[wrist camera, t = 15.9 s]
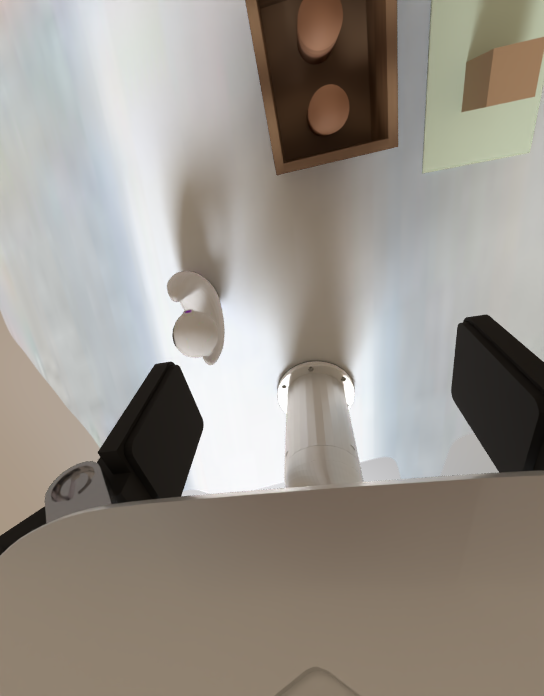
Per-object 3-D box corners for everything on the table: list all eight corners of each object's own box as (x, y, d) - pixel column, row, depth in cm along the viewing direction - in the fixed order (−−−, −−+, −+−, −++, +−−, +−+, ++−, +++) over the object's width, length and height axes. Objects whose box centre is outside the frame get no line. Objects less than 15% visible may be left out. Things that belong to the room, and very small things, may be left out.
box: (378, 147, 35) (398, 146, 28) (279, 170, 37) (276, 175, 30) (371, -37, 28) (396, -96, 21) (250, 2, 30) (238, -41, 23)
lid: (525, 152, 35) (562, 153, 30) (420, 172, 37) (440, 176, 32) (561, -32, 28) (617, -70, 23) (429, 3, 30) (456, -26, 25)
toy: (170, 264, 44) (119, 311, 31) (217, 247, 42) (184, 289, 29) (206, 333, 49) (174, 397, 36) (249, 320, 47) (232, 383, 35)
